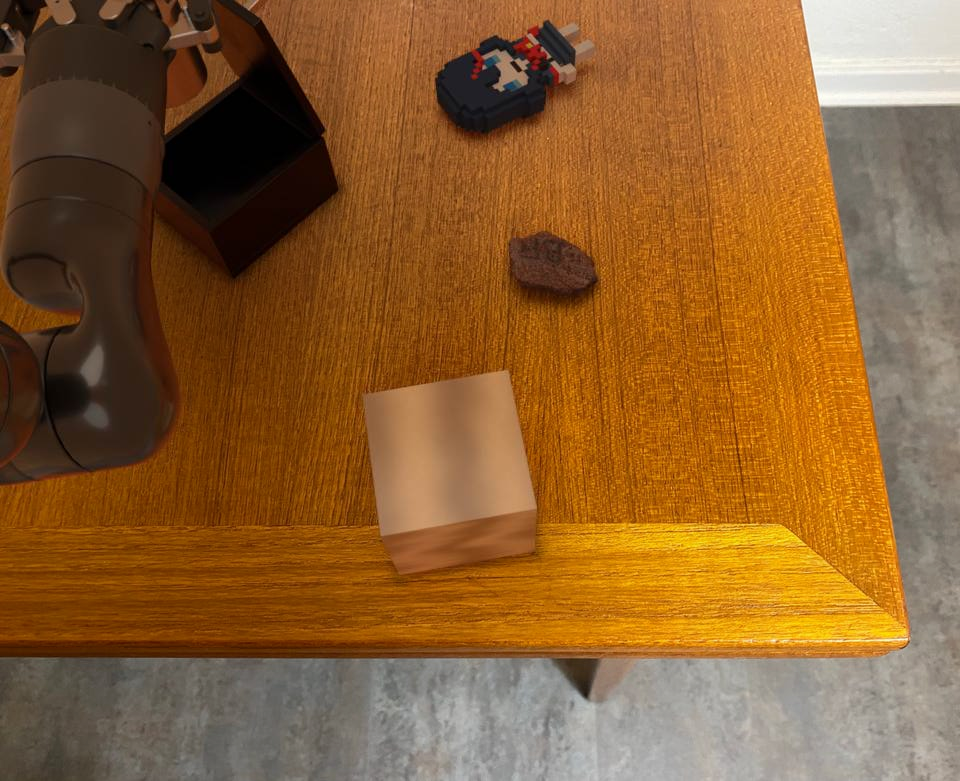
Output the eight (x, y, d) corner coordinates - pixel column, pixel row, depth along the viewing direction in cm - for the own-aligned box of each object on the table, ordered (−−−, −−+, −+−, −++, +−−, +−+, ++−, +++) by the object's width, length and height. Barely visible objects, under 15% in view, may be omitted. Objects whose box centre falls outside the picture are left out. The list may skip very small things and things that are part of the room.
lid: (253, 26, 60) (303, -25, 61) (156, -42, 63) (204, -89, 64) (320, 137, 73) (360, 94, 73) (236, 75, 76) (275, 35, 77)
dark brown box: (233, 279, 75) (208, 232, 69) (156, 214, 79) (126, 163, 73) (339, 189, 79) (324, 137, 73) (261, 131, 83) (241, 76, 76)
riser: (399, 575, 64) (380, 536, 55) (382, 449, 68) (362, 394, 59) (534, 551, 64) (537, 508, 55) (509, 427, 69) (508, 369, 60)
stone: (504, 246, 76) (504, 224, 73) (588, 237, 76) (591, 215, 73) (513, 312, 73) (513, 292, 70) (600, 303, 73) (604, 283, 70)
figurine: (612, 52, 79) (469, 122, 77) (608, 87, 83) (472, 155, 80) (559, -5, 83) (420, 59, 80) (557, 31, 87) (424, 94, 84)
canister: (130, 115, 63) (48, -32, 52) (131, 58, 65) (53, -93, 54) (209, 102, 63) (143, -47, 52) (206, 46, 65) (143, -107, 54)
